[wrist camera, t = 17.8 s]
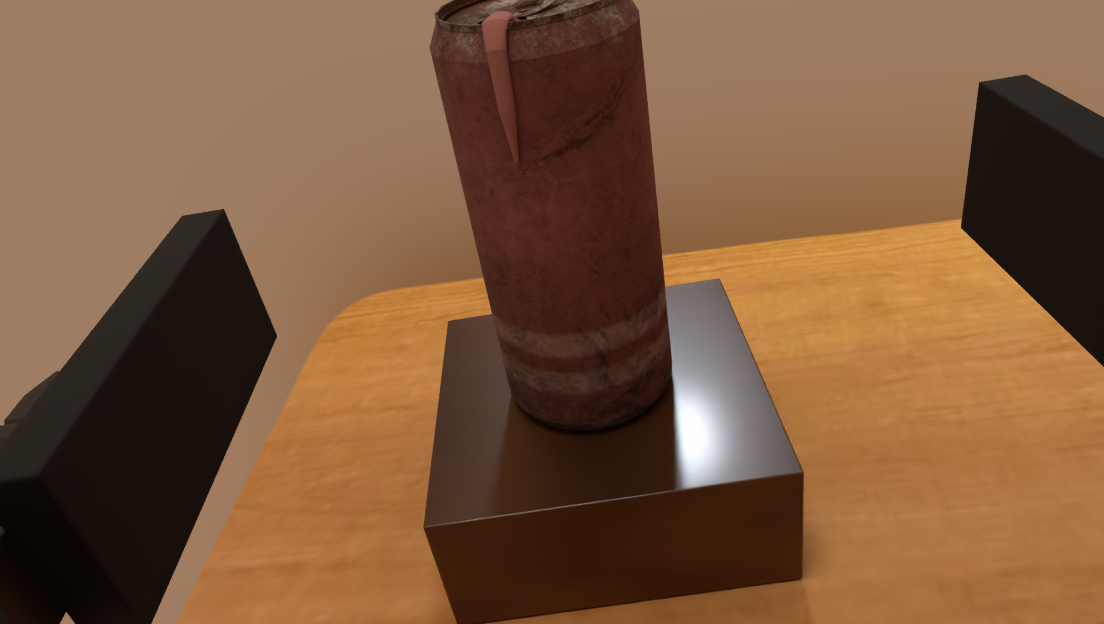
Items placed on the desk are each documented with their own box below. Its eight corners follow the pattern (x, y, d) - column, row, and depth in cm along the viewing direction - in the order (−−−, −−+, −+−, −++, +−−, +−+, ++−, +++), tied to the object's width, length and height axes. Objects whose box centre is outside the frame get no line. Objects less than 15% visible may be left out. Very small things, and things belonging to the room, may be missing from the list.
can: (497, 445, 28) (392, 38, 21) (524, 339, 33) (448, -16, 26) (673, 439, 27) (630, 7, 20) (673, 330, 32) (638, -44, 25)
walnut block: (724, 369, 38) (719, 277, 35) (802, 579, 28) (804, 472, 25) (471, 407, 38) (447, 320, 36) (457, 626, 28) (422, 527, 26)
